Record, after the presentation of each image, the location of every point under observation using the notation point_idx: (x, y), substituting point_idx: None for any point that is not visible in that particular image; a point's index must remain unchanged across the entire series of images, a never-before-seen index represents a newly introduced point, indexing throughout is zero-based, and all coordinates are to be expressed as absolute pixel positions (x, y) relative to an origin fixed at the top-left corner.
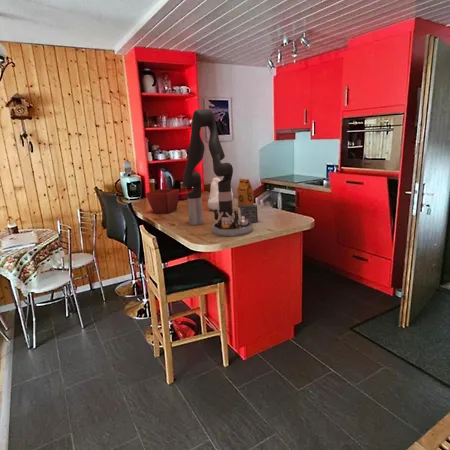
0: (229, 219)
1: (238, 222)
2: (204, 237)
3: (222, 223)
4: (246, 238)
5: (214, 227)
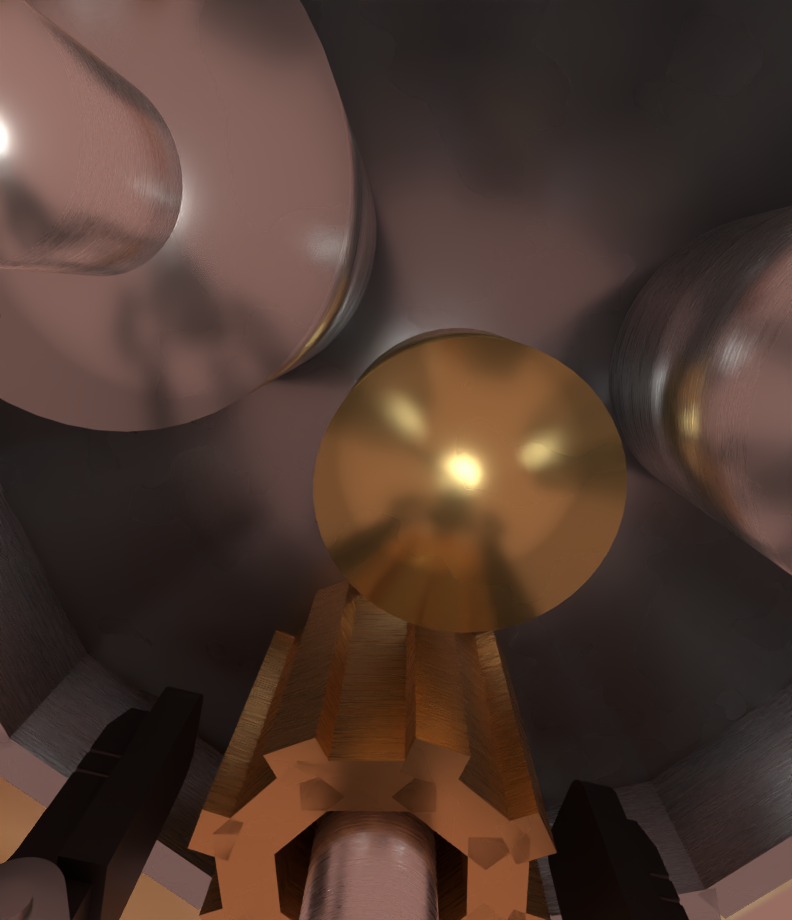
0: (308, 281)
1: (731, 518)
2: (27, 834)
3: (221, 876)
4: (784, 885)
5: (39, 787)
